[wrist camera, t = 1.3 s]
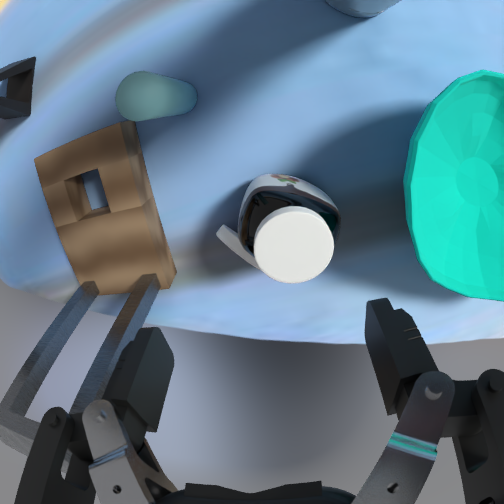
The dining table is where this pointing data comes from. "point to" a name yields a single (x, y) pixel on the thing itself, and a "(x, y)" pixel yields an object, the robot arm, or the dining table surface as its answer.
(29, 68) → the phone stand
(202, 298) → the dining table surface
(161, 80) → the peg
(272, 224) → the spread jar
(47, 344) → the sheltered socket
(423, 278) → the dining table surface
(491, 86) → the table top decor
